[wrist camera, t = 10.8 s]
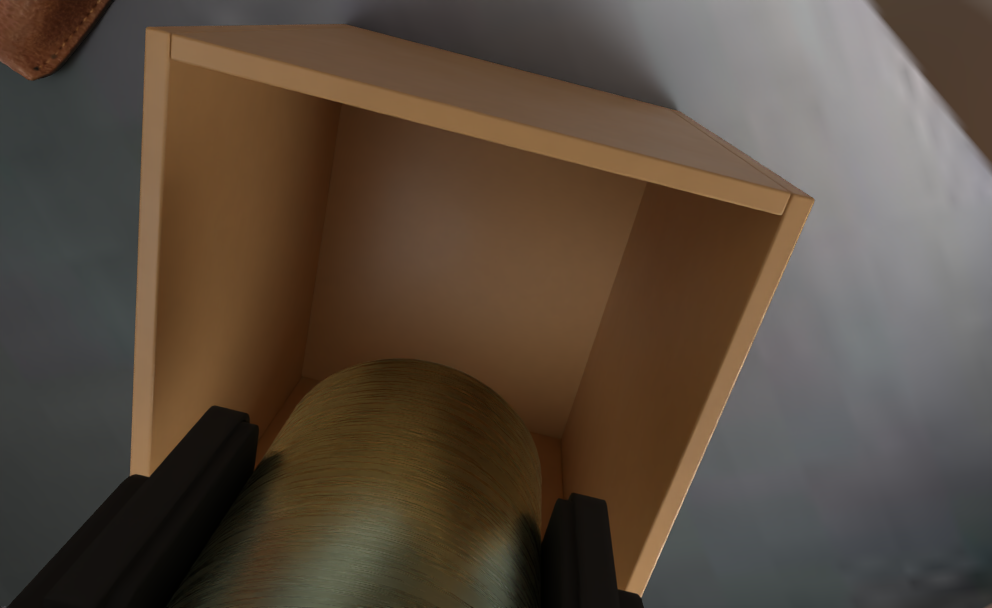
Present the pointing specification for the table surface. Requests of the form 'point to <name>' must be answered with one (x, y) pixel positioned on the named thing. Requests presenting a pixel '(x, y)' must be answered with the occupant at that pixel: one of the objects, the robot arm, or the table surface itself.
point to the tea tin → (383, 501)
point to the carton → (448, 252)
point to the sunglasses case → (44, 32)
